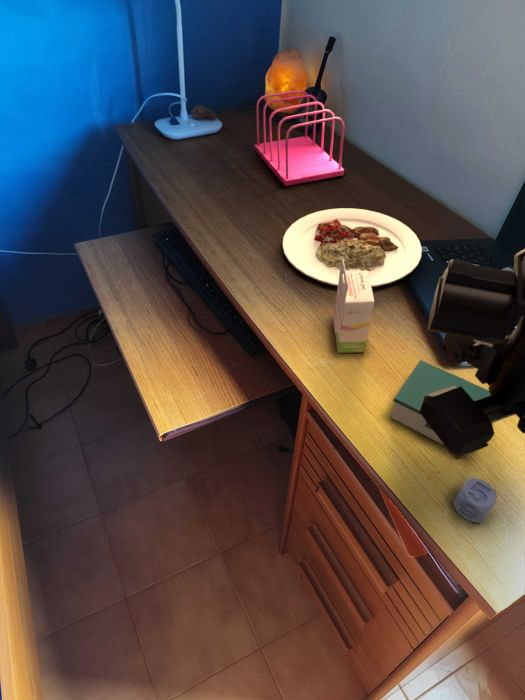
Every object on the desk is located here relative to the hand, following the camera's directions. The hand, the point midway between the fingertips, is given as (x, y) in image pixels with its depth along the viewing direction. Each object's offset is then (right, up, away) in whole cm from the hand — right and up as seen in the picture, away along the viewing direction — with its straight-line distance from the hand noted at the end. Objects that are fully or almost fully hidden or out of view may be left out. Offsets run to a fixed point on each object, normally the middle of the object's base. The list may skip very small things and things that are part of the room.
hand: (488, 442), depth 53 cm
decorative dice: (+2, -11, +9) cm, 14 cm away
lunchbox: (+2, 0, +19) cm, 19 cm away
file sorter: (-16, +64, +81) cm, 105 cm away
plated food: (-6, +32, +50) cm, 60 cm away
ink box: (-10, +13, +32) cm, 36 cm away
